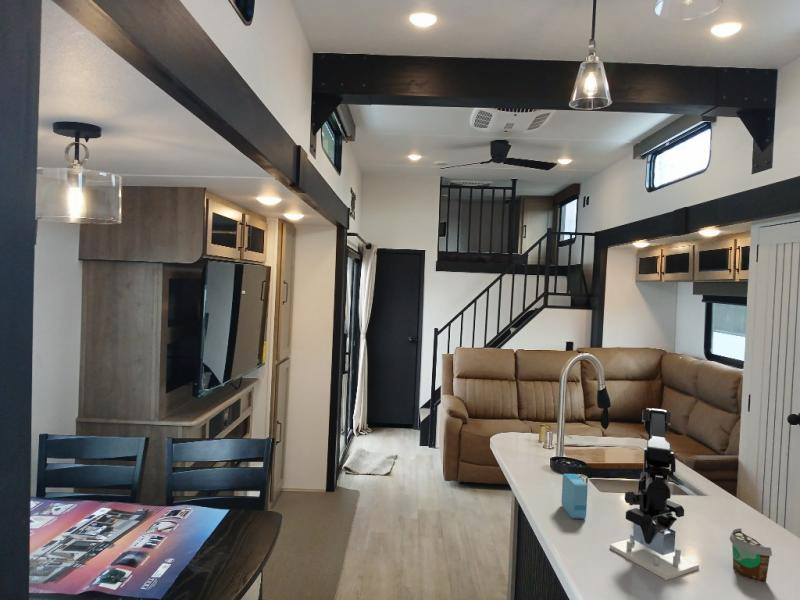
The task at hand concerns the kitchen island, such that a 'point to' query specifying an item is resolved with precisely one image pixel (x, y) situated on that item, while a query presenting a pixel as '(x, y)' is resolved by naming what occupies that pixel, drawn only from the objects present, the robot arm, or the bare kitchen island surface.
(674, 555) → the cream pegged board
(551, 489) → the kitchen island surface
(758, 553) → the food container
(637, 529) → the block
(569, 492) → the light blue box
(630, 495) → the robot arm
